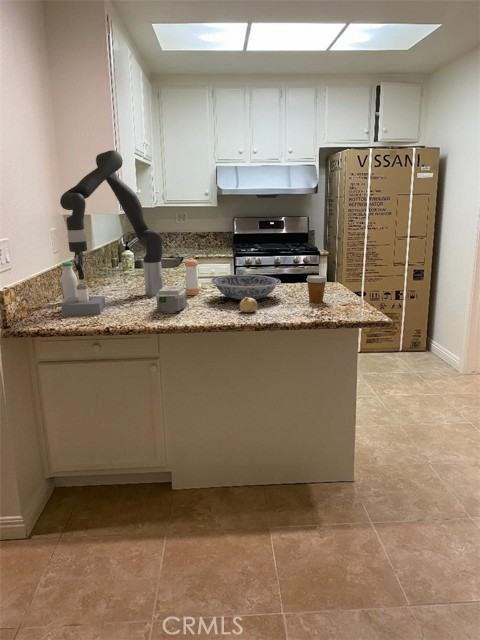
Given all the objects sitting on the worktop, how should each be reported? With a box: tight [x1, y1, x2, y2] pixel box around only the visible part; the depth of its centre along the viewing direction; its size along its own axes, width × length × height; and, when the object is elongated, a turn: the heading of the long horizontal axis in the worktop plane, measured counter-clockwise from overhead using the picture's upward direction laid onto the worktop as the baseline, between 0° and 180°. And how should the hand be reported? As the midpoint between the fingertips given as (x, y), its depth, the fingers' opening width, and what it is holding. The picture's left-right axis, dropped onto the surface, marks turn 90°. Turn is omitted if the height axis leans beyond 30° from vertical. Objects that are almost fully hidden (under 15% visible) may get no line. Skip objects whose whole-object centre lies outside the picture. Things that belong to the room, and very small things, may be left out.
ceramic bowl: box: [210, 274, 282, 301], centre depth 227 cm, size 34×34×10 cm
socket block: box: [61, 295, 106, 317], centre depth 208 cm, size 16×16×5 cm
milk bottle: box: [60, 261, 79, 304], centre depth 224 cm, size 8×8×20 cm
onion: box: [239, 297, 259, 313], centre depth 201 cm, size 8×8×7 cm
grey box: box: [155, 285, 188, 314], centre depth 209 cm, size 12×28×10 cm, turn 179°
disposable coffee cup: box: [305, 274, 327, 304], centre depth 218 cm, size 10×10×12 cm
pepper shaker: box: [183, 257, 200, 296], centre depth 239 cm, size 7×7×19 cm
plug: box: [76, 283, 90, 302], centre depth 207 cm, size 4×4×12 cm
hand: (81, 279), depth 205 cm, fingers closed
